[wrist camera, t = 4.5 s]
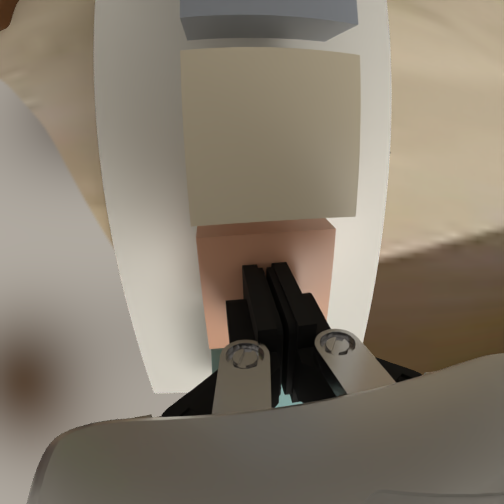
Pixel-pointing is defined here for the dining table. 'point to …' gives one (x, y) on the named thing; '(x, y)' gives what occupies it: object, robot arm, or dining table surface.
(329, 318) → the keypad base
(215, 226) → the key
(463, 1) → the dining table surface
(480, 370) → the robot arm
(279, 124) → the key
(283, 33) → the key
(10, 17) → the plant
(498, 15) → the dining table surface
